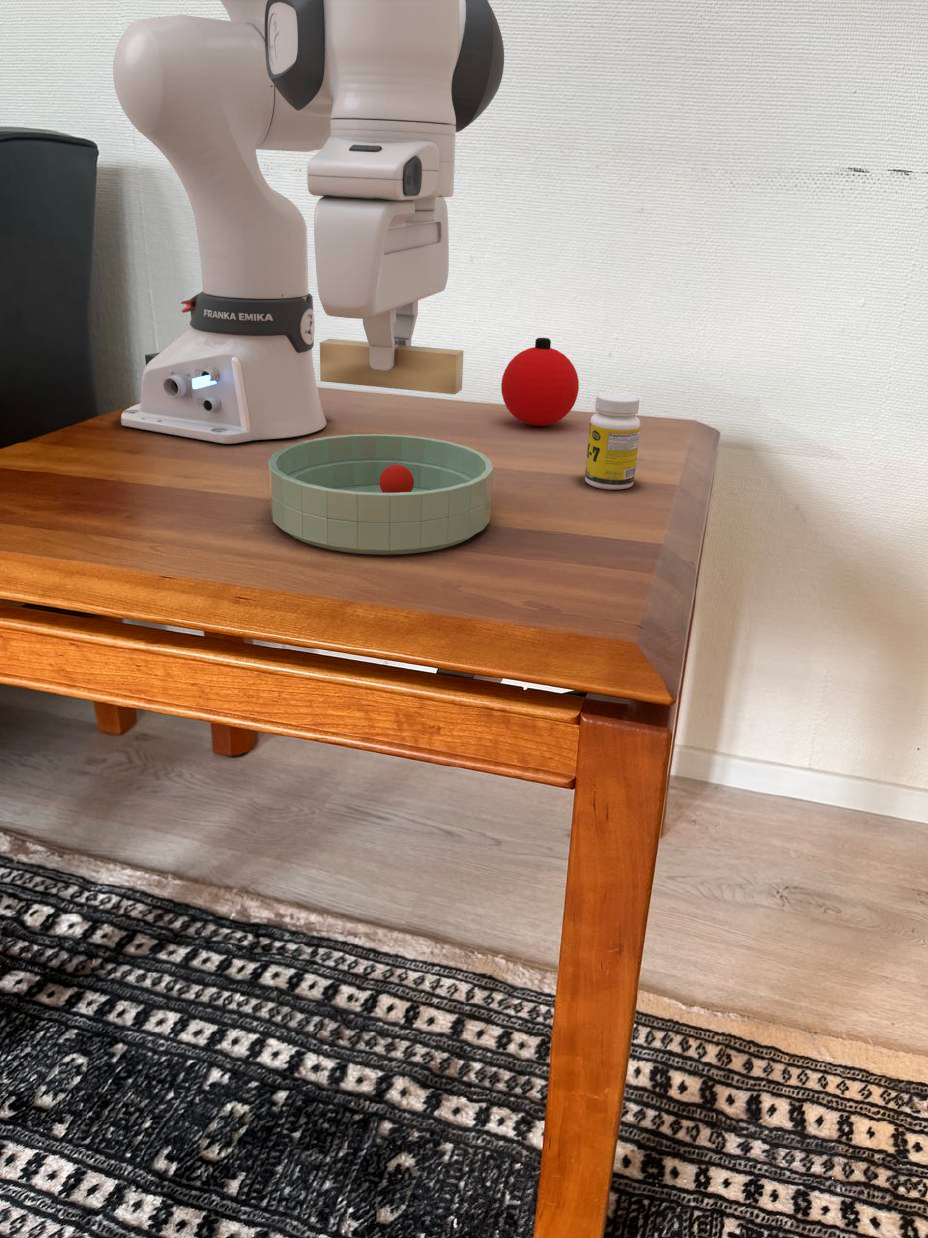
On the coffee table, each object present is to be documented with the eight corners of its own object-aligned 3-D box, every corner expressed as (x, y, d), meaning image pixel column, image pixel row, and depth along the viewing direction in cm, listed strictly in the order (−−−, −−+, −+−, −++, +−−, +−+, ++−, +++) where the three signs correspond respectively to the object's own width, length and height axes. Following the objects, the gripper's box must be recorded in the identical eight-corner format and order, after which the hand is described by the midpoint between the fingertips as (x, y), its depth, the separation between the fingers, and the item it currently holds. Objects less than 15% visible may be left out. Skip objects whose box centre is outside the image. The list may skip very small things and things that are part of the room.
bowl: (232, 540, 77) (229, 478, 75) (321, 478, 93) (320, 426, 91) (458, 570, 73) (460, 506, 71) (509, 500, 89) (513, 446, 87)
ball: (374, 501, 85) (374, 468, 84) (385, 492, 88) (385, 459, 87) (407, 505, 85) (408, 471, 83) (417, 495, 87) (418, 462, 86)
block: (320, 381, 77) (319, 341, 76) (329, 376, 79) (329, 338, 78) (455, 394, 75) (456, 354, 74) (462, 389, 77) (463, 350, 75)
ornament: (583, 434, 113) (591, 345, 109) (506, 434, 112) (511, 343, 107) (565, 416, 121) (572, 332, 117) (493, 415, 120) (497, 331, 115)
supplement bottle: (580, 475, 97) (588, 390, 94) (626, 476, 98) (636, 391, 94) (589, 490, 93) (598, 401, 89) (638, 491, 93) (649, 402, 90)
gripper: (396, 167, 80) (393, 341, 86) (295, 164, 62) (301, 385, 68) (470, 171, 79) (463, 347, 85) (390, 169, 61) (388, 393, 67)
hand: (390, 364), depth 76 cm, fingers closed on block, 2 cm apart
